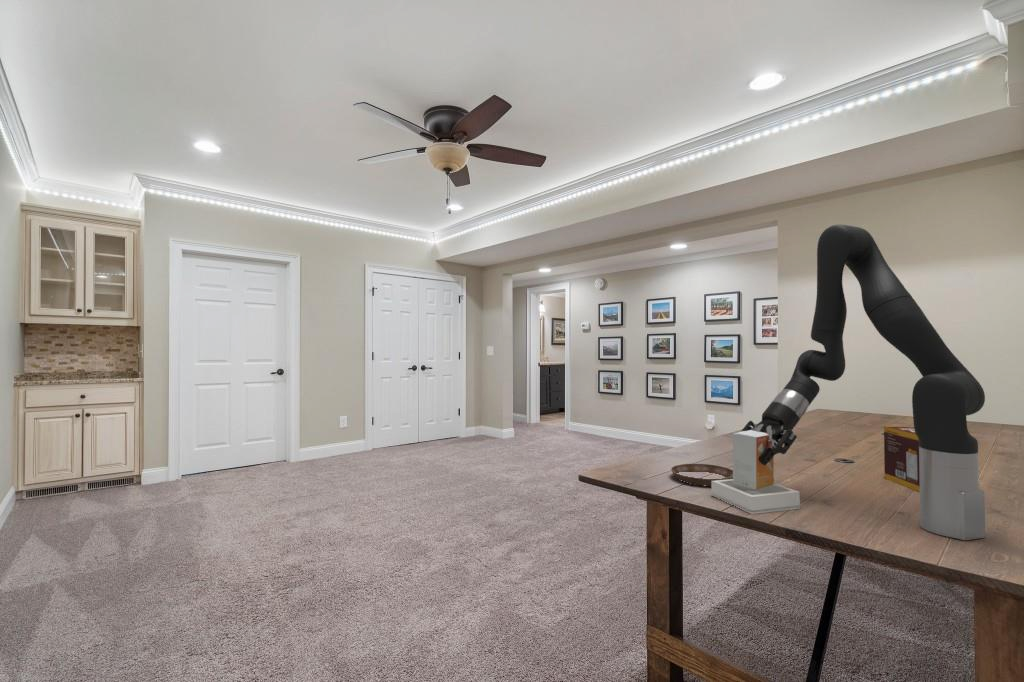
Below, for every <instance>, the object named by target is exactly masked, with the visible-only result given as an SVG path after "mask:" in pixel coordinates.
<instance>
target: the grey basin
mask: <svg viewBox="0 0 1024 682" xmlns="http://www.w3.org/2000/svg"><path fill="white" fill-rule="evenodd" d="M710 488H711V492H710V493H711V495H712V496H715V497H717V498H719V499H721V500H723V501H725V502H724V503H726V502H727V504H728V503H729V504H728V505H730V504H731V505H730V506H732V505H734V506H733V507H735V506H736V507H735V508H737V507H738V508H737V509H739V508H740V510H741V509H742V511H744V512H746V513H747V514H751V515H757V514H765V513H772V512H773V513H774V512H783V511H790V510H797V509H798V510H800V509H801V503H800V502H801V496H800V494H801V493H800V491H798V490H795V489H791V488H789V487H786V486H784V485H781V484H778V483H775V482H773V485H770V486H767V487H763V488H760V489H757V490H755V489H751V488H747V487H743V486H739V485H735V484H733V479H726V480H715V481H711V487H710ZM711 495H710V496H711ZM712 496H711V497H712ZM717 498H716V499H717ZM719 499H718V500H719ZM721 500H720V501H721ZM723 501H722V502H723Z"/></svg>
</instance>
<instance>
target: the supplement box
mask: <svg viewBox="0 0 1024 682" xmlns="http://www.w3.org/2000/svg"><path fill="white" fill-rule="evenodd" d="M883 440H884V441H883V443H884V444H883V448H884V450H883V451H884V453H883V455H884V459H883V460H884V462H883V463H884V466H883V467H884V478H885V479H887V480H888V481H891V482H893V483H897V484H899V485H901V486H904V487H906V488H909V489H912V490H915V492H919V493H920V477H919V439H918V437H917V435H916V433H915V430H914V425H913V426H911V425H910V426H909V425H907V426H906V425H905V426H904V425H884V426H883Z"/></svg>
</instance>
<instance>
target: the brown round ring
mask: <svg viewBox="0 0 1024 682" xmlns="http://www.w3.org/2000/svg"><path fill="white" fill-rule="evenodd" d="M670 470H671V472H672V474H673V475H674V476H675V478H676V479H677V478H678V479H680V480H682V481H685V482H688V483H691V484H696V485H695V486H697V485H706V486H711V481H715V480H726V479H733V469H731V468H728V467H725V466H720V465H715V464H708V463H707V464H706V463H685V464H684V463H683V464H677V465H673V466H672V467H670ZM679 472H709V473H715V474H719V475H722V476H724V477H725V478H722V479H703V478H694V477H688V476H683V475H680V474H677V473H679ZM678 479H677V480H678ZM680 480H679V481H680ZM682 481H681V482H682ZM691 484H690V485H691ZM706 486H705V487H706Z"/></svg>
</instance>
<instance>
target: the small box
mask: <svg viewBox="0 0 1024 682" xmlns="http://www.w3.org/2000/svg"><path fill="white" fill-rule="evenodd" d="M741 431H742V430H741ZM741 431H738V432H733V433H732V470H733V484H735V485H739V486H743V487H747V488H751V489H755V490H757V489H760V488H763V487H767V486H770V485H773V483H774V471H775V469H774V465H775V464H774V462H775V461H774V457H775V455H774V456H773V458H772V459H771V460H770V462H769V463H767V464H766V465H763V464H761V462H760V461H759V457H760V456H761V454H762V453H763V452H764V450H765V449H766V448H768V440H767V438H768V434H767V433H764V432H758V431H752V430H748V431H742V432H741Z"/></svg>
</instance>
